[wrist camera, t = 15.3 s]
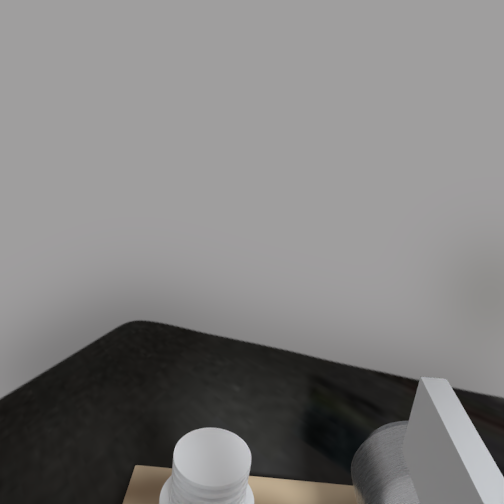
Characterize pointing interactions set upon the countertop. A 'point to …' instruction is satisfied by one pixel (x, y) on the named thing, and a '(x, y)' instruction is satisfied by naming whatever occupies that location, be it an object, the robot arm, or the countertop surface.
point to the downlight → (209, 470)
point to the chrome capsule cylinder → (383, 468)
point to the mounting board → (264, 489)
